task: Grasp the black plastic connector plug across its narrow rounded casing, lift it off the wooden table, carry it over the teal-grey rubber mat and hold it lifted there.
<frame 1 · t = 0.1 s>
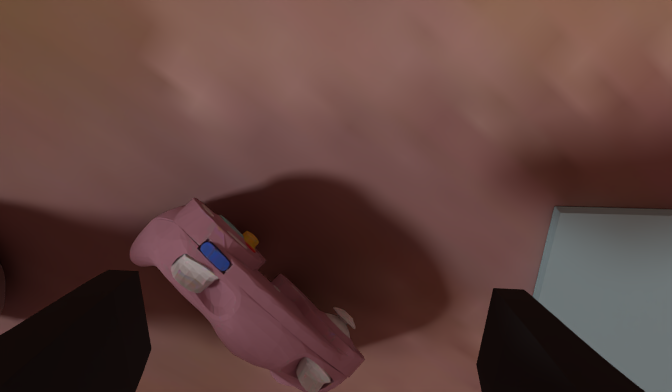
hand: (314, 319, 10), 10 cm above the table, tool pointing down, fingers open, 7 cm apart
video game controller: (258, 264, 22), on the table
rubber mat: (670, 316, 22), on the table
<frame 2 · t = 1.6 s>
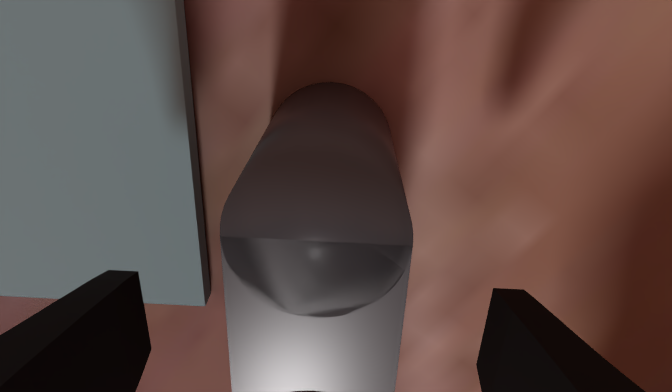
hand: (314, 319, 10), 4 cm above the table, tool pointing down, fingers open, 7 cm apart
connector plug: (326, 227, 13), on the table
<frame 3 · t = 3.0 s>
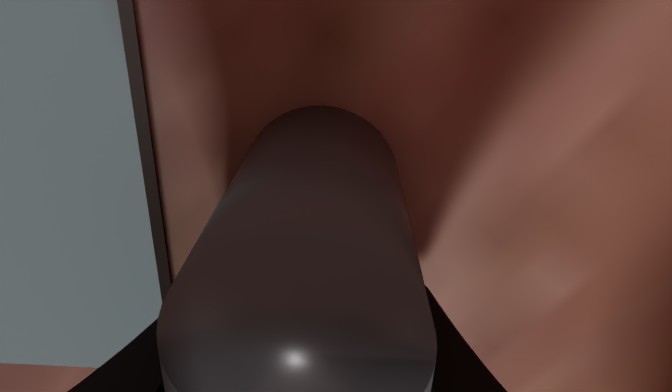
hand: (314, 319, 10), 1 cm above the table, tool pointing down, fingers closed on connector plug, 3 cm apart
connector plug: (318, 278, 11), on the table, touching gripper
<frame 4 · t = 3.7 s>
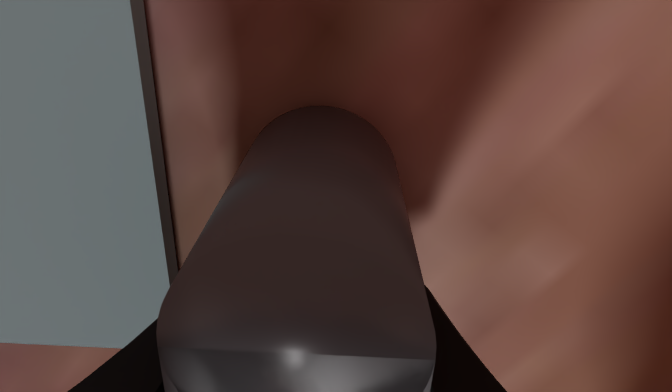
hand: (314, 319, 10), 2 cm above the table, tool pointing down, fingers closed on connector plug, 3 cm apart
connector plug: (318, 278, 11), point 1 cm above the table, touching gripper
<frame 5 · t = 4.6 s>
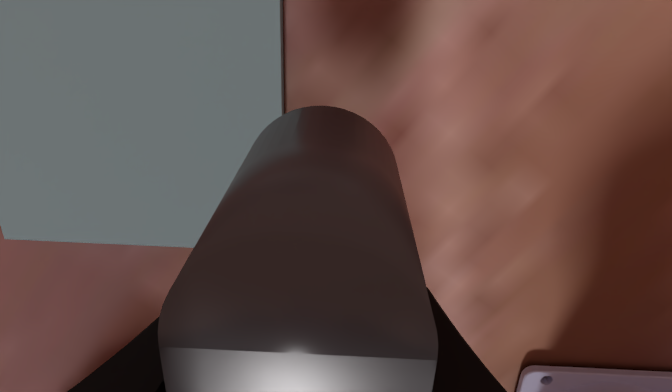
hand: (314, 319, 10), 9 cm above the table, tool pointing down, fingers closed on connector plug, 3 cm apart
connector plug: (319, 278, 11), point 7 cm above the table, touching gripper
rubber mat: (124, 73, 16), on the table
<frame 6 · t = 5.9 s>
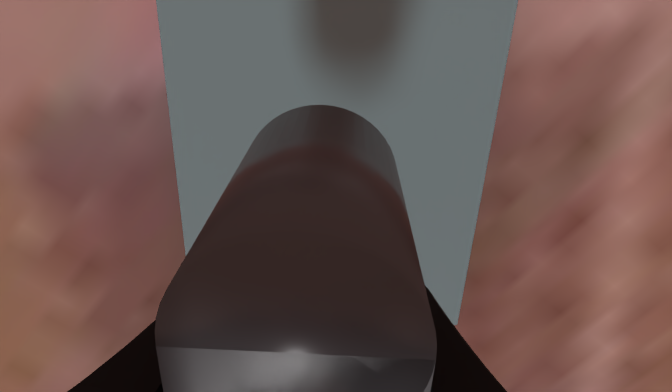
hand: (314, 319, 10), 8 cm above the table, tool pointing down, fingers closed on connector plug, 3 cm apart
connector plug: (318, 278, 11), point 7 cm above the table, touching gripper
rubber mat: (330, 167, 17), on the table
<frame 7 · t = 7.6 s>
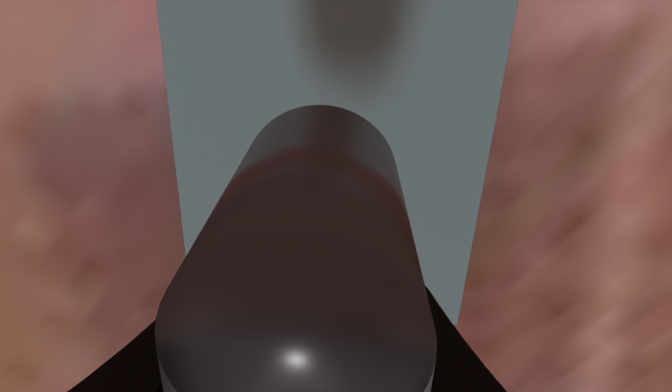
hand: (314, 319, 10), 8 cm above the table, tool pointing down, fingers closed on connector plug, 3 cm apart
connector plug: (318, 278, 11), point 7 cm above the table, touching gripper
rubber mat: (330, 167, 17), on the table
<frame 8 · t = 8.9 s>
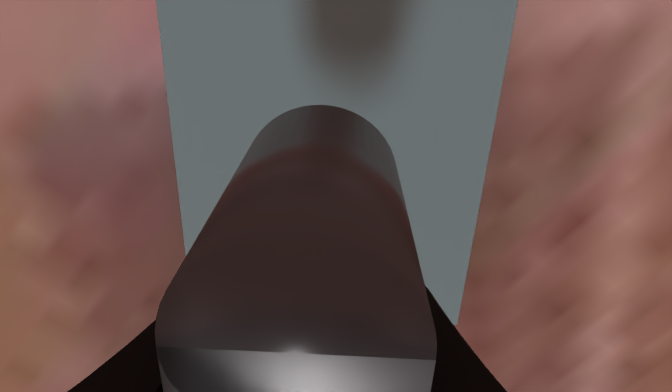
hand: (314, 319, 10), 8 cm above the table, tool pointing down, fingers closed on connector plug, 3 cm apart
connector plug: (318, 278, 11), point 7 cm above the table, touching gripper
rubber mat: (330, 167, 17), on the table
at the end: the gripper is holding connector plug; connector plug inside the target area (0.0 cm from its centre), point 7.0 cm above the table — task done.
